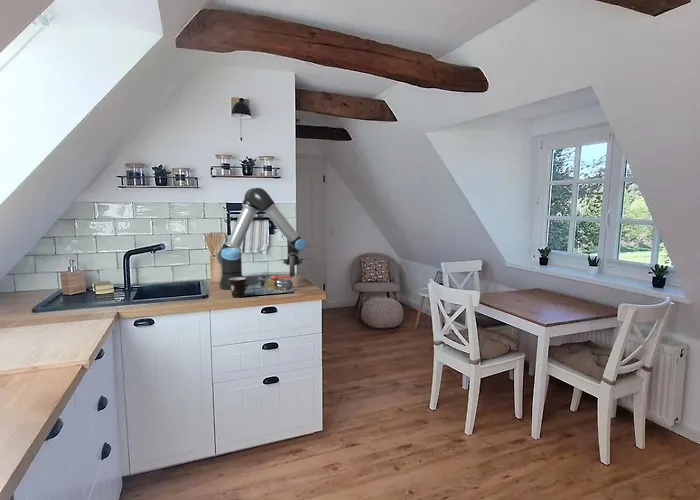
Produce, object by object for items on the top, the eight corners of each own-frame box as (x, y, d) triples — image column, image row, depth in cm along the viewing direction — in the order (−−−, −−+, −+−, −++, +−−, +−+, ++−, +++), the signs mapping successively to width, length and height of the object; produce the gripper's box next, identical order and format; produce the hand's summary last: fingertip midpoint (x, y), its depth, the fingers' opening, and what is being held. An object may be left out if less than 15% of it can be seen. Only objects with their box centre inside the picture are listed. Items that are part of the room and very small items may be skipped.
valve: (255, 287, 248) (254, 276, 247) (268, 284, 256) (267, 274, 255) (282, 292, 233) (281, 281, 232) (294, 289, 241) (294, 278, 240)
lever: (270, 279, 241) (269, 257, 240) (271, 278, 246) (270, 256, 244) (294, 278, 243) (294, 256, 241) (294, 277, 247) (294, 255, 245)
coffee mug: (229, 295, 226) (228, 278, 225) (244, 294, 230) (244, 276, 228) (232, 300, 215) (231, 281, 214) (249, 298, 219) (248, 280, 218)
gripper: (303, 264, 270) (303, 270, 247) (283, 265, 268) (281, 271, 245) (302, 253, 269) (303, 258, 246) (282, 253, 267) (281, 258, 244)
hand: (292, 264), depth 245 cm, fingers closed
